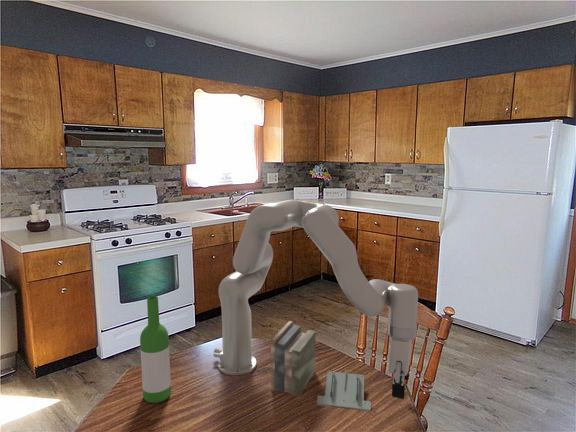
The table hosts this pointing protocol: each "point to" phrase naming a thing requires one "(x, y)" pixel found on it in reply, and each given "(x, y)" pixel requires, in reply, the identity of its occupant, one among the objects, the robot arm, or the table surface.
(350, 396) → the metal bracket
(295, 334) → the book row
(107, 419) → the table surface
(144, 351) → the wine bottle
